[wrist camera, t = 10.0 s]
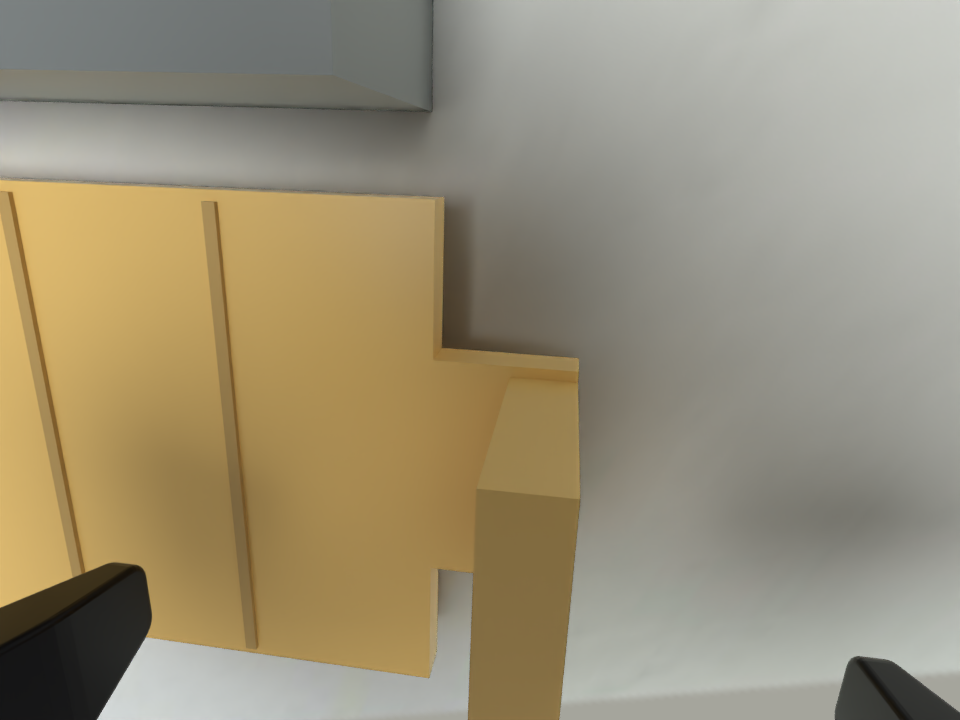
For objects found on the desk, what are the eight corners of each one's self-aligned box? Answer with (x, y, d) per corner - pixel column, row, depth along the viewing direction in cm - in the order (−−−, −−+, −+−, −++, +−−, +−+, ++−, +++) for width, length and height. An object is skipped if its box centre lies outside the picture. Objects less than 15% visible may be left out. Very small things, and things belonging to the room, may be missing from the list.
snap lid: (590, 200, 12) (605, 232, 6) (553, 634, 15) (540, 913, 9) (-88, 170, 13) (-542, 175, 8) (5, 561, 17) (-278, 758, 11)
